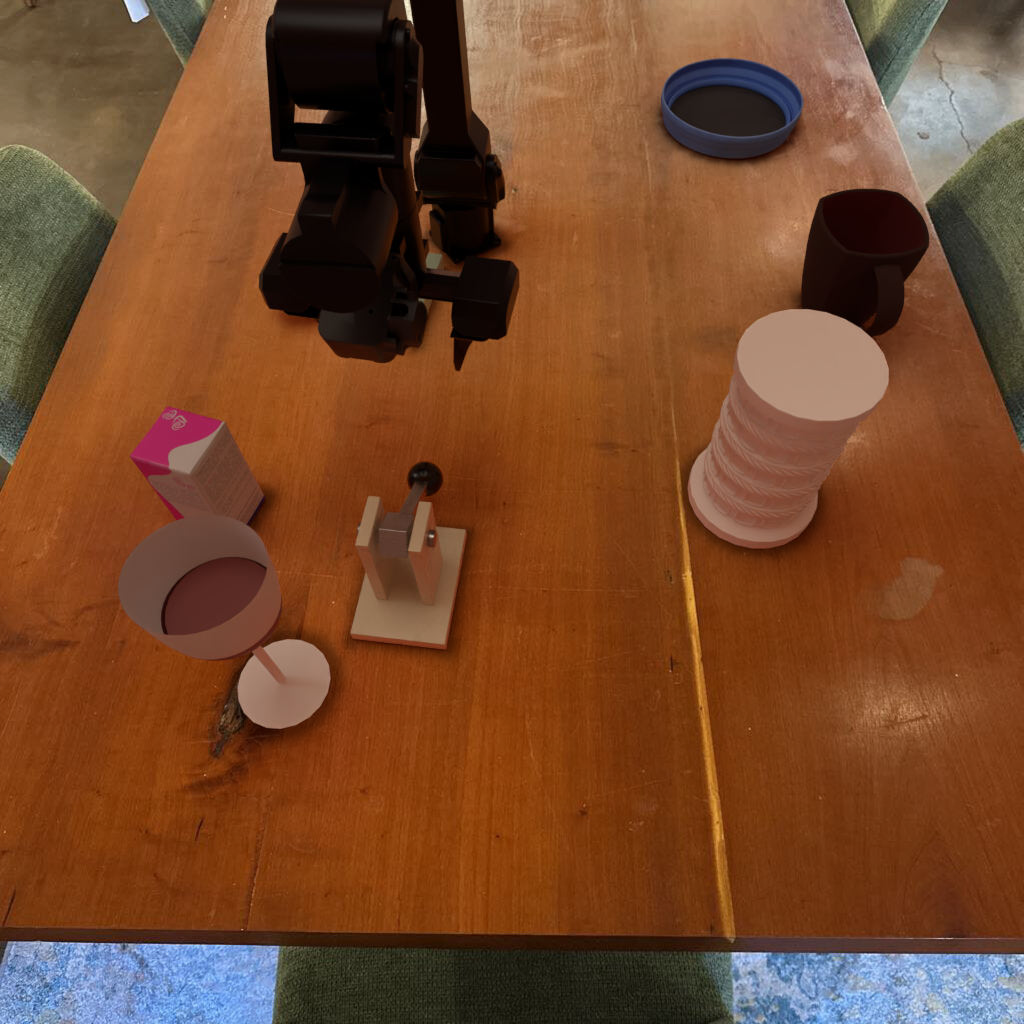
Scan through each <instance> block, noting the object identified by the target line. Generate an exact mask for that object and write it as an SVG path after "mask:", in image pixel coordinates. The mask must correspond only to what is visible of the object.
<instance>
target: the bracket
mask: <svg viewBox="0 0 1024 1024" xmlns="http://www.w3.org/2000/svg"><path fill="white" fill-rule="evenodd" d="M386 514H387V513H386V511H385V508H384V504H383V501H382V498H381V496H375V495H373V496H372V495H368V496H367V499H366V502H365V506H364V510H363V513H362V516H361V517H362V518H361V520H360V521H359V522H358V524H357V529H356V539H355V543H354V546H355V548H356V551H357V554H358V556H359V559H360V561H361V563H362V566H363V569H364V571H365V573H364V577H363V581H362V585H361V589H360V592H359V597H358V601H357V605H356V609H355V613H354V617H353V620H352V623H351V624H352V625H351V628H350V631H349V632H350V636H351V638H352V639H353V640H359V641H369V642H377V643H378V642H379V643H386V644H394V645H395V644H396V645H402V646H403V645H404V646H411V647H420V648H427V649H428V648H429V649H437V650H447V647H448V641H449V637H450V632H451V631H450V630H451V625H452V621H453V614H454V608H455V603H456V598H457V592H458V586H459V581H460V576H461V569H462V565H463V559H464V553H465V547H466V543H467V537H468V535H467V534H468V533H467V529H465V528H464V529H463V528H454V527H447V526H437V524H436V518H435V514H434V508H433V503H432V501H431V502H430V501H424V500H423V501H419V504H418V508H417V513H416V517H415V522H414V526H413V530H412V535H411V539H410V544H409V548H408V552H409V555H408V557H407V559H405V558H396V557H387V556H379V537H378V529H379V527H380V525H381V523H382V521H383V519H384V518H385V516H386Z"/></svg>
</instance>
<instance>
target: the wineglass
mask: <svg viewBox="0 0 1024 1024" xmlns="http://www.w3.org/2000/svg"><path fill="white" fill-rule="evenodd" d="M120 570H121V571H120V573H119V577H118V585H117V591H118V599H119V602H120V605H121V607H122V609H123V611H124V612H125V614H126V615H127V616H128V617H129V619H131V621H132V622H134V623H135V624H136V625H137V626H138V627H140V628H141V629H142V630H143V631H145V632H147V633H148V634H149V635H150V636H152V637H153V638H155V639H156V640H157V641H159V642H161V643H162V644H163V645H164V646H166V647H168V648H170V649H172V650H173V651H175V652H178V653H180V654H181V655H184V656H187V657H190V658H192V659H197V660H203V661H210V662H211V661H212V662H213V661H215V662H217V661H218V662H219V661H227V660H232V659H237V658H241V657H243V656H246V655H247V654H250V653H252V654H253V656H251V657H250V658H249V659H248V661H247V662H246V663H245V665H244V667H243V669H242V671H241V673H240V676H239V680H238V683H237V698H238V700H237V701H238V703H239V705H240V708H241V710H242V712H243V714H244V715H245V716H246V717H247V718H249V720H251V722H253V723H254V724H257V725H259V726H261V727H263V728H266V729H278V730H281V729H286V728H290V727H294V726H297V725H299V724H301V723H302V722H304V721H306V720H307V719H309V718H310V717H312V716H313V714H314V713H315V712H316V711H317V710H318V709H319V708H320V707H321V706H322V705H323V702H324V701H325V699H326V697H327V695H328V693H329V688H330V684H331V679H332V678H331V672H330V671H331V670H330V665H329V662H328V660H327V659H326V656H325V654H324V653H323V652H322V651H321V650H320V649H319V648H318V647H316V645H314V644H312V643H309V642H307V641H304V640H302V639H292V638H291V639H289V638H287V639H282V640H278V641H273V642H271V643H270V644H268V645H265V646H264V647H263V646H262V645H264V644H265V643H266V642H267V641H268V640H269V639H270V638H271V637H272V635H273V634H274V633H275V631H276V629H277V628H278V626H279V624H280V621H281V618H282V612H283V596H282V590H281V585H280V581H279V577H278V576H279V575H278V573H277V572H278V571H277V569H276V567H275V565H274V563H273V560H272V558H271V555H270V553H269V551H268V549H267V547H266V545H265V542H263V540H262V538H261V536H259V535H258V533H257V532H256V531H255V530H254V529H253V528H252V527H251V526H250V525H249V526H247V525H246V524H244V523H243V522H241V521H238V520H236V519H233V518H230V517H226V516H219V515H198V516H191V517H187V518H183V519H179V520H174V521H171V522H168V523H166V524H165V525H163V526H161V527H159V528H157V529H155V531H152V532H151V533H149V534H148V535H147V536H146V537H144V538H143V539H142V540H141V541H140V542H139V543H138V544H137V545H136V546H135V547H134V548H133V549H132V551H131V552H130V554H128V556H127V558H126V560H125V561H124V564H123V565H122V568H121V569H120Z"/></svg>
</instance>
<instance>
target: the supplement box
mask: <svg viewBox="0 0 1024 1024" xmlns="http://www.w3.org/2000/svg"><path fill="white" fill-rule="evenodd" d="M129 458H130V459H131V461H132V462H133V463H134V465H135V466H136V467H137V470H139V472H140V473H141V474H142V476H143V477H144V478H145V480H146V481H147V482H148V484H149V485H150V486H151V488H152V489H153V491H154V492H155V493H156V495H157V496H158V497H159V499H160V500H161V501H162V503H163V504H164V505H165V507H166V508H167V509H168V511H169V512H170V514H171V515H172V516H173V518H174V519H175V521H177V520H179V519H183V518H187V517H191V516H198V515H219V516H226V517H230V518H233V519H236V520H238V521H241V522H243V523H244V524H246V525H247V526H249V527H250V525H251V523H252V522H253V520H254V518H255V517H256V515H257V513H258V512H259V510H260V508H261V507H262V505H263V504H264V502H265V500H266V496H265V495H264V492H263V491H262V488H261V487H260V484H259V482H258V481H257V479H256V477H255V476H254V473H253V471H252V470H251V468H250V466H249V464H248V462H247V460H246V459H245V456H244V454H243V453H242V451H241V449H240V447H239V445H238V443H237V441H236V440H235V437H234V436H233V434H232V432H231V430H230V428H229V427H228V424H227V422H226V421H223V420H220V419H216V418H213V417H210V416H206V415H201V414H198V413H194V412H191V411H187V410H185V409H184V410H183V409H180V408H176V407H172V406H168V405H167V406H166V407H165V409H164V410H163V411H162V412H161V413H160V415H159V416H158V418H157V419H156V421H155V422H154V423H153V424H152V426H151V428H150V429H149V430H148V431H147V432H146V434H145V435H144V437H143V438H142V439H141V440H140V442H139V443H138V444H137V445H136V446H135V448H134V449H133V450H132V452H131V453H130V454H129Z"/></svg>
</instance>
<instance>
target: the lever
mask: <svg viewBox="0 0 1024 1024" xmlns="http://www.w3.org/2000/svg"><path fill="white" fill-rule="evenodd" d="M406 482H407V486H408V488H409V492H408V494H407V496H406V498H405V500H404V502H403V504H402V506H401V507H400V510H399V512H395V511H387V512H386V513H385V514H386V516H385V518H384V519H383V521H382V523H381V525H380V527H379V529H378V537H379V556H387V557H396V558H405V559H407V557H408V555H409V552H408V548H409V544H410V539H411V535H412V530H413V526H414V522H415V517H416V513H417V508H418V504H419V501H423V502H424V500H425V498H431V497H433V496H435V495H436V494H438V493H439V492H440V490H441V489H442V487H443V484H444V475H443V472H442V470H441V468H440V467H439V466H438V465H437V464H436V463H434V462H432V461H426V460H422V461H418V462H416V463H415V464H413V465H412V466H411V467H410V469H409V470H408V472H407V475H406Z"/></svg>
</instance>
